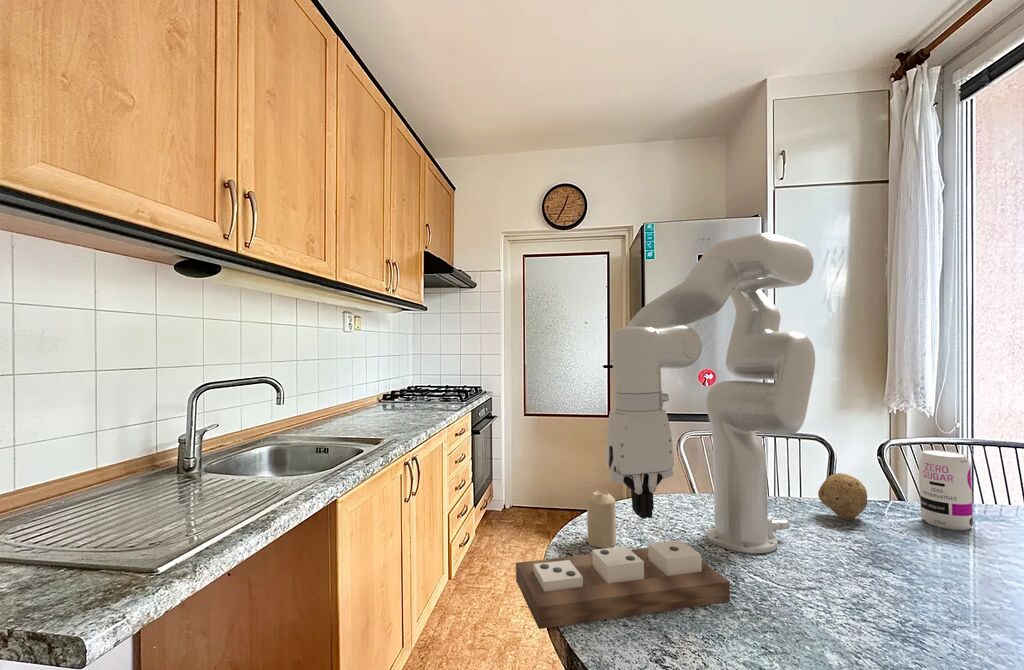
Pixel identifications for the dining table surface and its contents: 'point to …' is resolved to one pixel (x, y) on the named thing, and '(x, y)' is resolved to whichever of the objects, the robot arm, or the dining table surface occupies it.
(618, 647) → the dining table surface
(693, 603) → the panel
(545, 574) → the tile three
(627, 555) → the tile two
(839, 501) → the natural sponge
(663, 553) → the tile one
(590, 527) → the candle
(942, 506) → the supplement can
